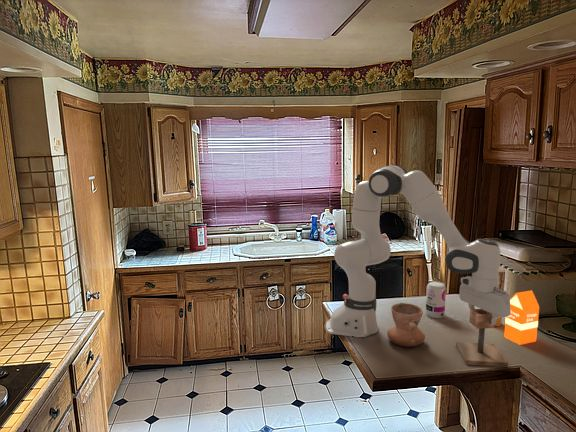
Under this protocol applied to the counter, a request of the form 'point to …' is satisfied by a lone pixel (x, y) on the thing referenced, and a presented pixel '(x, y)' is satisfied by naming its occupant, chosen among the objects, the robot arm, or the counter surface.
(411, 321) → the ceramic jug
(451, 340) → the counter surface
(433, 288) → the supplement can
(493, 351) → the peg stand
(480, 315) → the bead
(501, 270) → the paper tube
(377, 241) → the robot arm
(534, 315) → the orange juice
